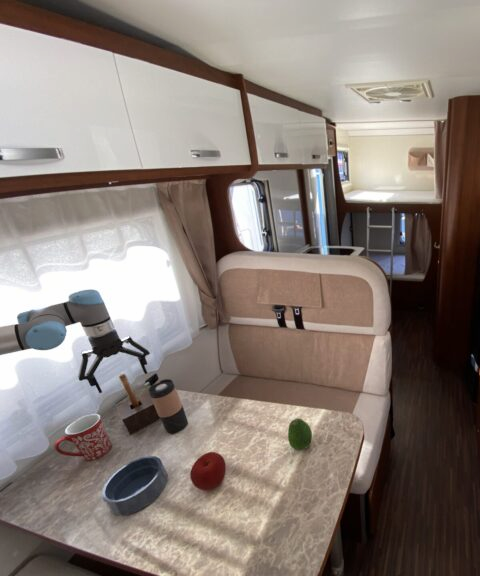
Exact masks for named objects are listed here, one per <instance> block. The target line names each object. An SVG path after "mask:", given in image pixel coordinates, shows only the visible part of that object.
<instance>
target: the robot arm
mask: <svg viewBox="0 0 480 576" xmlns="http://www.w3.org/2000/svg"><path fill="white" fill-rule="evenodd" d="M67 298H68V300H67V301H64V302H60V303H56V304H51V305H47V306H43V307H39V308H31V309H30V310H26V311H22V312H20V313H18V314H17V316H16V320H17V323H14V324H9V325H3V326H0V356H3V355H7V354H13V353H18V352H21V351H26V350H32V349H33V350H36V351H49V350H54V349H56V348H58V347H59V346H60V345H62V344H63V343H64V341H65V339H66V337H67V327H68V326H71V325H76V324H78V323H80V325H81V327H82V329H83V331H84V333H85V335H86V337H87V340H88V342H89V344H90V346H91V349H90V350H87V351H86V350H82V351H81V353H80V354H81V357H82V359H81V363H80V366H79V372H78V375H77V378H78V380H79V381H80V382H82V381H85V380H87V382H88V384H89V386H90V387H95V388H96V389H97V391H98V393H99V394H102V393H103V390H102V388H101V386H100V383H98V380H97V378H96V375H95V372H96V371H97V369H98V368H99V365H101V363H102V362H103V360H104V358H107V359H108V358H110V357H112V356H117V355H118V354H119V353H122V354H126V355H129V356H133V357H136V358H137V360H138V362H139V364H140V366H141V369H142V371H143V373H144V375H147V374H148V371H147V369H146V366H147V365H148V362H147V359H146V357H147V356H149V355H150V354H151V353H150V350H148V349H147V348H146V347H144V346H142V345H141V344H140V343H138V342H136V341H135V340H133V338H132V336H130V335H127V336H125V338H122V339H121V338H120V336H119V334H118V331H117V330H116V328H115V325H114V321H113V320H112V318H111V316H110V313H109V311H108V309H107V306H106V304H105V301H104V299H103V297H102V295H101V294H100V292H99V291H98V290H97V289H92V288H91V289H82V290H79V291H76V292H73V293H71V294H69V295H68V297H67ZM124 344H130V345H131V346H133V347H134V348H135V349H137V350H138V351H136V350H134V349H130V348H128V347H125V346H123V345H124ZM139 351H140V352H139ZM92 355H95V358H94V360H93V362H92V364H91V365H90V367H89V369H88V370H87V367H88V364H89V358H90V357H91V356H92Z"/></svg>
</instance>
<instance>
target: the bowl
mask: <svg viewBox="0 0 480 576" xmlns="http://www.w3.org/2000/svg"><path fill="white" fill-rule="evenodd" d="M168 479H169V473H168V472H167V470H166V468H165V466H164V464H163V461H162V460H161V458H160V457H158V456H155V455H146V456H142V457H139V458H137V459H136V458H135V459H134V460H131V461H130V462H127V464H124V465H123V466H122V467H121V468H119V469H118V470H117V471H115V472H114V473H113V474H112V475H111V476H110V477H109V478H108V479H107V480H106V482H105V484H104V485H103V487H102V491H101V498H102V500H103V502H104V504H105V505H106V507H107V508H108V511H109V512H110V513H112V514H113V515H115V516H127V515H130V514H131V515H132V514H133V513H136V512H137V511H140V510H142V509H144V508H145V507H146V506H148V505H149V504H151V503H152V502H153V501H154V500H155V499H157V498H158V496H159V495H160V494H161V492H162V491H163V490H164V489H165V487H166V485H167V483H168Z"/></svg>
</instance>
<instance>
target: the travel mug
mask: <svg viewBox="0 0 480 576" xmlns="http://www.w3.org/2000/svg"><path fill="white" fill-rule="evenodd" d="M147 392H148V393H149V394H150V396H151V399H152V401H153V403H154V406H155V408H156V411H157V413H158V415H159V417H160V422H161V423H162V425H163V427H164V430H165V432H166V433H167V434H169V435H175V434H178V433H180V432H181V431H183V430H185V429H186V427H187V426H188V424H189V421H188V418H187V414H186V411H185V408H184V406H183V403H182V401H181V398H180V395H179V394H178V391H177V388H176V387H175V383H174V381H173V380H172V379H168V378H166V379H162V380H160V381H159V382H156V383H155V384H152V385H150V386H149V388H148V390H147Z"/></svg>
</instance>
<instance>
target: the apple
mask: <svg viewBox="0 0 480 576" xmlns="http://www.w3.org/2000/svg"><path fill="white" fill-rule="evenodd" d="M226 466H227V465H226V460H225V458H224V457H223V456H222V454H220V453H218V452H217V451H216V452H215V451H209V452H206V453H204V454H202V455H201V456H200V457H198V458H197V459H196V460H195V461H194V463H193V464H192V466H191V469H190V471H189V478H190V481H191V483H192V485H193V486H194V487H196V489H198V490H201V491H210V490H213V489H215V488H217V487H218V486H219V485H221V484H222V482H223V481H224V479H225V476H226V471H227V468H226Z"/></svg>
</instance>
